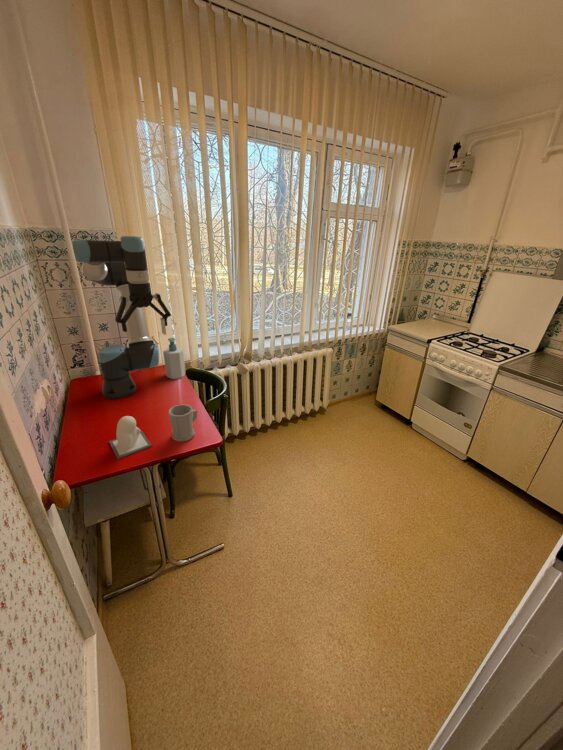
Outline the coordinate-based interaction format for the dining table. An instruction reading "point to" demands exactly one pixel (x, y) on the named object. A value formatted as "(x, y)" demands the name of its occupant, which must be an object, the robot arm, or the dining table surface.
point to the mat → (122, 452)
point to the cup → (182, 422)
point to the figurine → (127, 432)
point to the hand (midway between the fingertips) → (147, 336)
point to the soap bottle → (174, 361)
